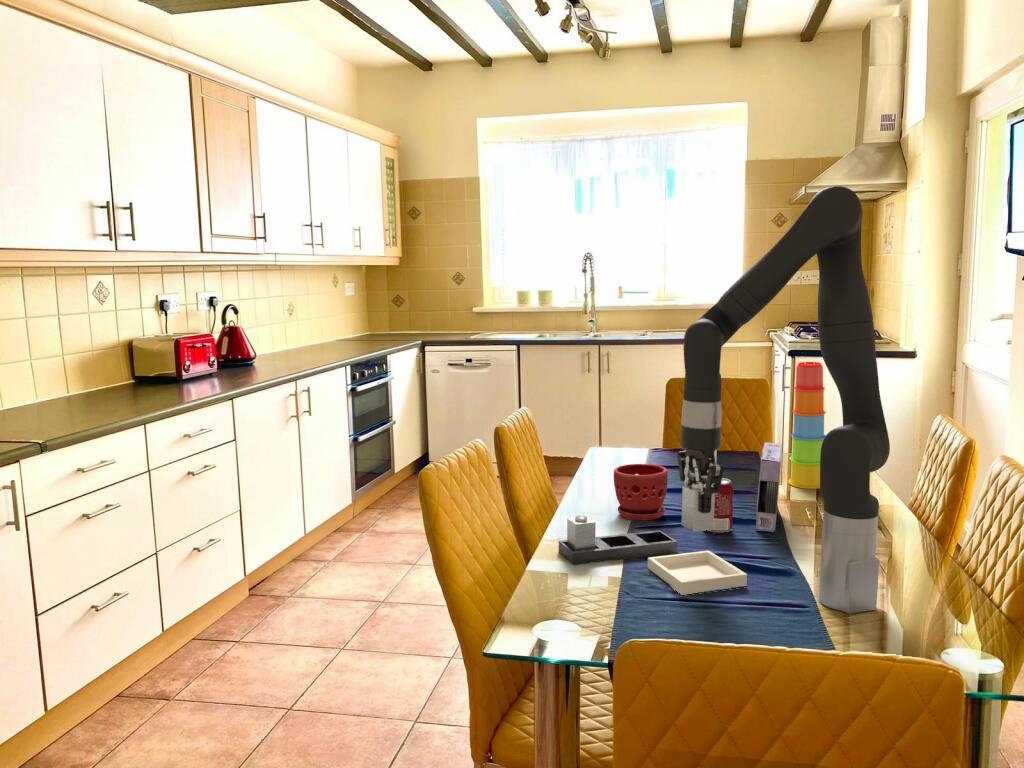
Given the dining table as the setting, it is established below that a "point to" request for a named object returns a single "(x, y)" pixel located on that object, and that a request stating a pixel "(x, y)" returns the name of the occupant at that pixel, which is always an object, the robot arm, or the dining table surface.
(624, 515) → the plant pot
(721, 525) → the soda can
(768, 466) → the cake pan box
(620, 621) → the dining table surface
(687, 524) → the silver knobbed block
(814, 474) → the stacking cups
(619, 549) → the dark grey compartment tray
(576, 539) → the square metal peg
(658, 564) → the parts tray
